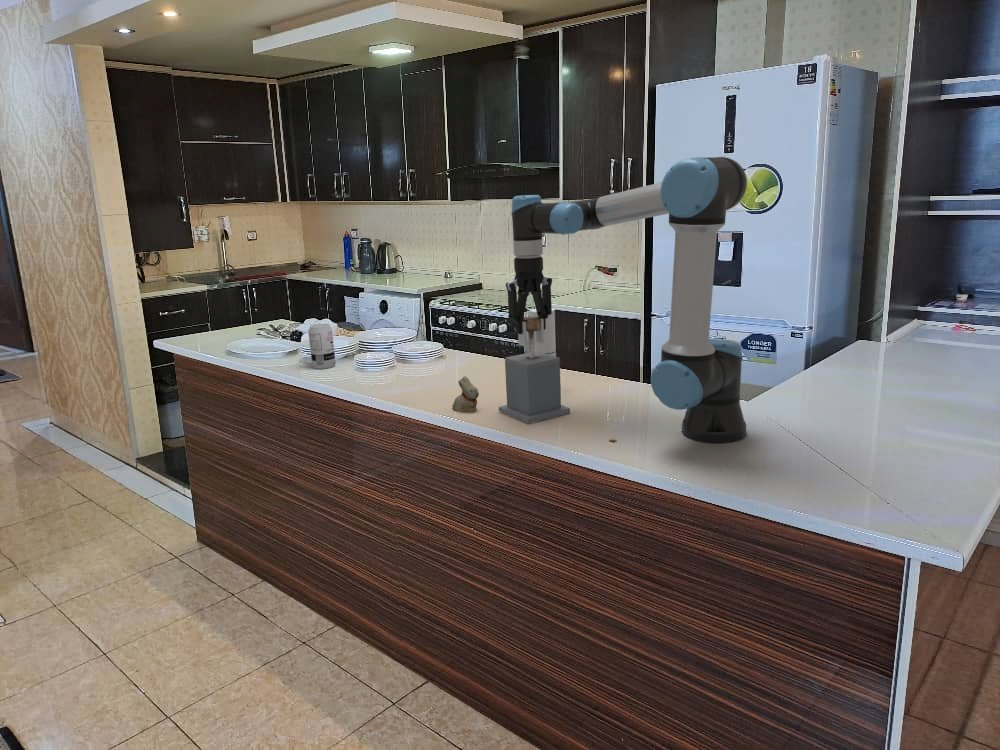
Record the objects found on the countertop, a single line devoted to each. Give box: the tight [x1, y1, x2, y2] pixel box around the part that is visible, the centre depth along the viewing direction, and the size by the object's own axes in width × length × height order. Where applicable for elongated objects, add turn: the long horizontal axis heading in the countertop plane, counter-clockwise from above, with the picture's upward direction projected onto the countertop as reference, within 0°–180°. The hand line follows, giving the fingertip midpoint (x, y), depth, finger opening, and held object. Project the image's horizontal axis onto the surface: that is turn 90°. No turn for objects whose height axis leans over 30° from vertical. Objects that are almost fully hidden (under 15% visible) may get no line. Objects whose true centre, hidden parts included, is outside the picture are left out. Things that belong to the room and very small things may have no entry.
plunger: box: [523, 316, 540, 360], centre depth 198 cm, size 8×8×20 cm
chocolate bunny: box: [452, 375, 480, 413], centre depth 206 cm, size 6×8×10 cm
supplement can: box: [307, 323, 336, 370], centre depth 263 cm, size 8×8×15 cm
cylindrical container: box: [529, 307, 557, 357], centre depth 217 cm, size 7×7×25 cm
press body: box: [498, 351, 571, 425], centre depth 200 cm, size 14×14×16 cm
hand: (531, 343), depth 197 cm, fingers closed on plunger, 5 cm apart
